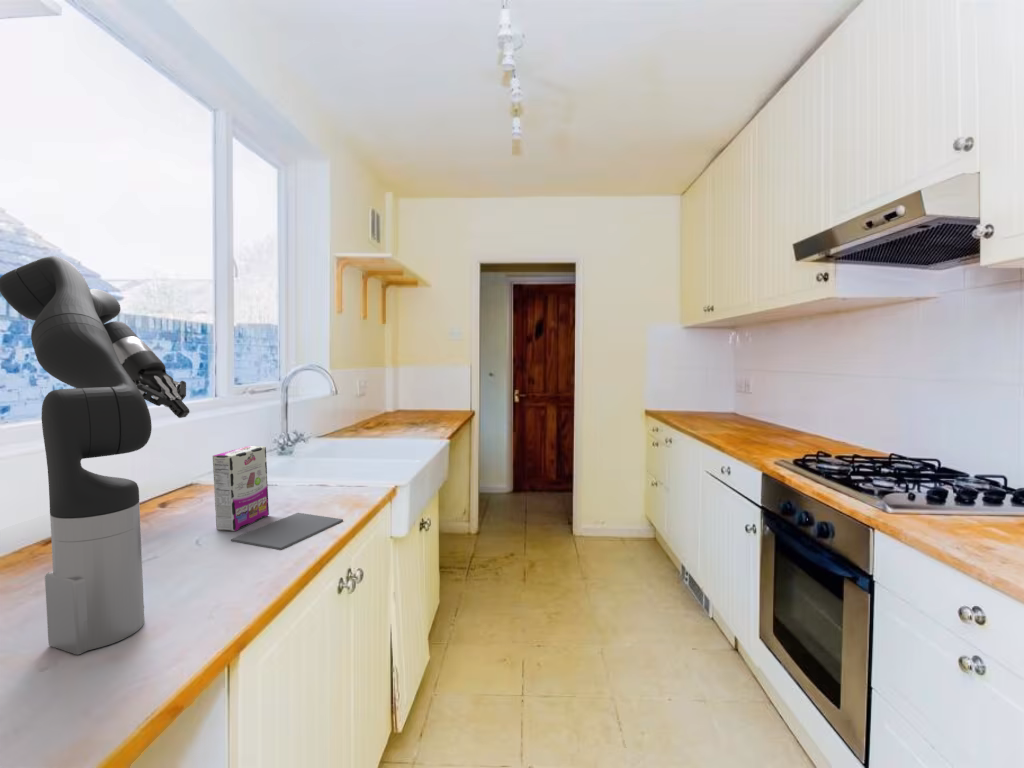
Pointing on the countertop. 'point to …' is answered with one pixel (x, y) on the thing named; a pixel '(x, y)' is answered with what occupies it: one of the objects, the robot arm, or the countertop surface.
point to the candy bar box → (240, 487)
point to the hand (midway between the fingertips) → (184, 415)
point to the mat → (287, 531)
